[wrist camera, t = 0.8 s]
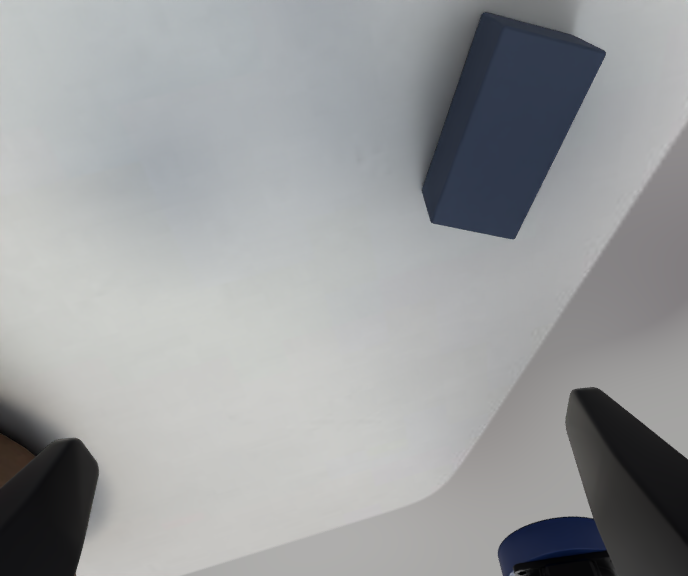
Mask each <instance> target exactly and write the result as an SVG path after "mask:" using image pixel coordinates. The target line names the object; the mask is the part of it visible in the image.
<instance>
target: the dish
mask: <svg viewBox="0 0 688 576" xmlns="http://www.w3.org/2000/svg"><path fill="white" fill-rule="evenodd" d="M35 457H36V456H35V455H33V454H32V453H31V452H30V451H28V450H27V449H26V448H24V447H23V446H21V445H20V444H18V443H16V442H15V441H13V440H11V439H10V438H8V437H6V436H4V435H2V434H0V488H1V487H2V486H3V485H5V484H6V483H7V482H8V481H9V480H10V479H11V478H12V477H14V476H15V475H16V474H17V473H18V472H19V471H20V470H21V469H22V468H24V467H25V466H26V465H27V464H28V463H29V462H30V461H31V460H33V459H34V458H35ZM74 576H76V572H75V575H74Z"/></svg>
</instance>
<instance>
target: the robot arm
mask: <svg viewBox="0 0 688 576" xmlns="http://www.w3.org/2000/svg"><path fill="white" fill-rule="evenodd" d="M566 430H567V434H568V437H569V441H570V444H571V447H572V450H573V454H574V456H575V460H576V463H577V467H578V470H579V473H580V476H581V480H582V483H583V486H584V490H585V493H586V496H587V499H588V503H589V506H590V509H591V512H592V515H593V518H594V520H595V523H596V525H597V528H598V530H599V533H600V535H601V538H602V540H603V542H604V545H605V547H606V549H607V550H605V551H598V552H591V553H585V554H578V555H571V556H564V557H558V558H551V559H544V560H537V561H531V562H524V563H518V564H515V565H514V566H513V571H514V575H515V576H688V459H687V458H685V457H684V456H683V455H682V454H680V453H679V452H678V451H677V450H675V449H674V448H673V447H671V446H670V445H669V444H668V443H666V442H665V441H664V440H663V439H661V438H660V437H659V436H658V435H657V434H655V433H654V432H653V431H651V430H650V429H649V428H648V427H646V426H645V425H644V424H643V423H641V422H640V421H639V420H638V419H637V418H635V417H634V416H633V415H632V414H630V413H629V412H628V411H627V410H625V409H624V408H622V407H621V406H620V405H619V404H618V403H616V402H615V401H614V400H613V399H611V398H610V397H609V396H608V395H606V394H605V393H604V392H602V391H601V390H600V389H598V388H594V387H590V388H580V389H574V390H572V392H571V393H570V398H569V403H568V408H567V414H566ZM98 475H99V468H98V464H97V462H96V460H95V459H94V457H93V456H92V455H91V453H90V452H89V451H88V449H87V448H86V447H85V445H84V444H83V443H82V441H81V440H79V439H77V438H68V439H59V440H56V441H54V442H52V443H51V444H49V445H48V446H47V447H46V448H45V449H44V450H43V451H42V452H40V453H39V454H38V455H37V456H36V457H35V458H34V459H33V460H31V461H30V462H29V463H28V464H27V465H26V466H25V467H24V468H22V469H21V470H20V471H19V472H18V473H17V474H16V475H15V476H14V477H12V478H11V479H10V480H9V481H8V482H7V483H6V484H5V485H3V486H2V487H1V488H0V576H74V575H75V572H76V569H77V566H78V562H79V559H80V556H81V552H82V548H83V544H84V539H85V535H86V530H87V526H88V521H89V517H90V512H91V508H92V503H93V498H94V494H95V489H96V485H97V480H98Z"/></svg>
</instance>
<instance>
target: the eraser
mask: <svg viewBox="0 0 688 576" xmlns="http://www.w3.org/2000/svg"><path fill="white" fill-rule="evenodd" d="M605 56H606V52H605V51H604V50H602V49H600V48H598V47H596V46H594V45H592V44H590V43H588V42H586V41H584V40H582V39H580V38H578V37H576V36H574V35H571V34H567V33H563V32H560V31H556V30H552V29H548V28H544V27H541V26H537V25H533V24H529V23H525V22H522V21H518V20H514V19H510V18H506V17H503V16H499V15H495V14H491V13H487V12H484V13H483V14H482V16H481V18H480V21H479V24H478V27H477V30H476V33H475V36H474V39H473V42H472V45H471V48H470V51H469V53H468V56H467V59H466V62H465V65H464V68H463V71H462V74H461V77H460V80H459V83H458V86H457V88H456V91H455V94H454V97H453V100H452V103H451V106H450V109H449V112H448V115H447V118H446V121H445V123H444V126H443V129H442V132H441V135H440V138H439V141H438V144H437V147H436V150H435V153H434V156H433V158H432V161H431V164H430V167H429V170H428V173H427V176H426V179H425V182H424V185H423V188H422V193H423V197H424V200H425V204H426V207H427V211H428V214H429V218H430V221H431V223H433V224H438V225H443V226H448V227H453V228H458V229H463V230H468V231H473V232H478V233H483V234H488V235H493V236H498V237H503V238H508V239H515V238H516V236H517V234H518V231H519V229H520V227H521V225H522V223H523V221H524V219H525V217H526V215H527V213H528V211H529V209H530V207H531V205H532V203H533V201H534V199H535V197H536V195H537V193H538V191H539V189H540V187H541V185H542V183H543V181H544V179H545V177H546V175H547V173H548V171H549V169H550V167H551V165H552V163H553V161H554V159H555V157H556V155H557V153H558V151H559V149H560V147H561V145H562V143H563V141H564V138H565V136H566V134H567V132H568V130H569V128H570V126H571V124H572V122H573V120H574V118H575V116H576V114H577V112H578V110H579V108H580V106H581V104H582V102H583V100H584V98H585V96H586V94H587V92H588V90H589V88H590V86H591V84H592V82H593V80H594V78H595V76H596V74H597V72H598V70H599V68H600V66H601V64H602V62H603V60H604V58H605Z"/></svg>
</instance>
